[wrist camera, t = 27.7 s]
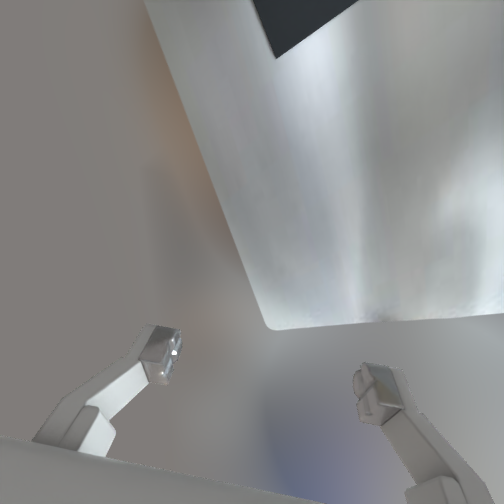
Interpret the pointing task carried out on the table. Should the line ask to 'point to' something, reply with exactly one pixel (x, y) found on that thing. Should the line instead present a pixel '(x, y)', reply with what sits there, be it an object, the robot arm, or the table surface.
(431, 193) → the table surface
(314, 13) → the mat
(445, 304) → the table surface
